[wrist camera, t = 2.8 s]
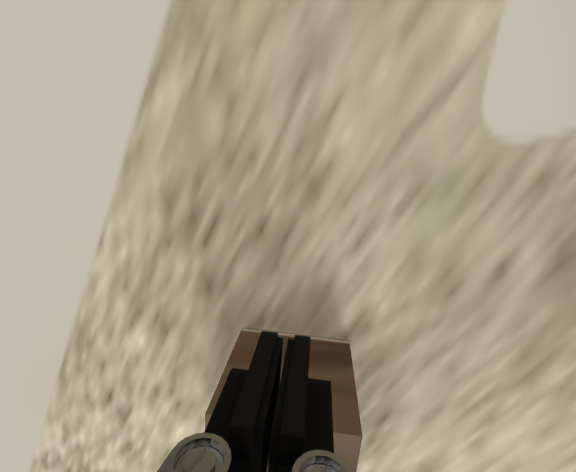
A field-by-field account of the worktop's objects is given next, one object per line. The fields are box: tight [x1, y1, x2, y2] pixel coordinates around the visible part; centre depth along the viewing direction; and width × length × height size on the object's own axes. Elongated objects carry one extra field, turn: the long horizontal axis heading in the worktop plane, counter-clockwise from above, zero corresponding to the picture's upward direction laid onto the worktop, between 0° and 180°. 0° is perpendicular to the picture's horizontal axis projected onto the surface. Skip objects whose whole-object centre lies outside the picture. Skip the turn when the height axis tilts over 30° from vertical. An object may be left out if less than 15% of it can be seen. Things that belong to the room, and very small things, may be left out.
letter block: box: [205, 328, 362, 472], centre depth 19 cm, size 7×7×7 cm
